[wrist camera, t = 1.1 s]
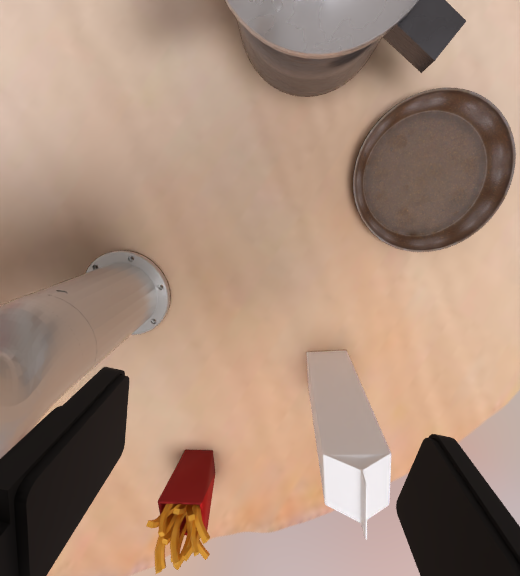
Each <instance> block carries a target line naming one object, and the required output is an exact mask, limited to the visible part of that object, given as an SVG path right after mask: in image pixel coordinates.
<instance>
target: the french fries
mask: <svg viewBox="0 0 520 576" xmlns="http://www.w3.org/2000/svg"><path fill="white" fill-rule="evenodd" d="M214 478H215V466H214V457H213V450H185V452H184V453H183V455H182V457H181V459H180V461H179V463H178V465H177V466H176V468H175V470H174V472H173V474H172V476H171V478H170V479H169V481H168V483H167V485H166V487H165V489H164V491H163V492H162V494H161V496H160V498H159V500H158V505H159V511H160V516H159V517H158V518H157V519H155V520H148V523H147V527H150V528H156V527H158V526H159V531H158V534H159V537H158V540H157V544H156V548H155V570H156V574H157V573H159V572H161V571H162V569H164V568H165V567H166V564H165V545H167V544H168V543H169V542H170V541H171V542H170V549H171V562H173V566H174V567H175V569H177V570H178V569H179V567H181V564H182V563H183V561H184V560H185V561H187V559H188V558H189V557H190V555H191V554H192V553H194V556H196V555H198V554H199V553H200V554H201V555H202V556H203V558H204V559H205V560H206V559H207V558H208V556H209V555H210V554H209V553H208V551H207V550H206V549H205V548H204V546H203V545H202V543H201V542H200V540H199V539H200V538H201V540H202V542H203V544H204V543H206V542H207V541H208V540H209V538H210V536H209V534H208V533H207V527H208V520H209V513H210V506H211V499H212V492H213V485H214ZM184 535H187V538H186V541H185V544H184V547H183V549H182V551H181V553H180V548H181V544H182V540H183V537H184Z"/></svg>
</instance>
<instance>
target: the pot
mask: <svg viewBox="0 0 520 576" xmlns="http://www.w3.org/2000/svg"><path fill="white" fill-rule="evenodd" d="M237 22H238V26H239V30H240V34H241V38H242V42H243V45H244V48H245V51H246V53H247V55H248V58H249V60H250V62H251V63H252V65H253V67H254V68H255V69H256V71H257V72H258V73H259V75H260V76H261V77H262V78H263V79H264V80H265V81H266V82H268V83H269V84H270V85H272V86H273V87H274V88H276V89H278V90H280V91H282V92H285V93H287V94H290V95H295V96H303V97H310V96H318V95H322V94H326V93H328V92H331V91H333V90H335V89H337V88H339V87H341V86H342V85H344V84H345V83H347V82H348V81H349V80H351V79H352V78H353V77H354V76H355V75H356V74H357V73H358V72H359V71H360V69H361V68H362V67H363V66H364V65H365V63H366V62H367V60H368V59H369V57H370V56H371V54H372V52H373V51H374V49H375V48H376V46H377V44H378V43H379V41H380V39H381V38H382V37H381V38H380V39H378V40H377V41H375V42H373V43H371V44H370V45H368V46H366V47H364V48H362V49H360V50H357V51H355V52H352V53H350V54H346V55H342V56H339V57H334V58H325V59H306V58H300V57H295V56H290V55H288V54H285V53H282V52H280V51H277V50H275V49H273V48H271V47H269V46H268V45H266V44H264V43H263V42H261V41H260V40H259V39H257V38H256V37H255V36H253V35H252V34H251V33H250V32H249V31H248V30H247V29H246V28H245V27H244V26H243V25H242V24H241V23H240V22H239V21H238V19H237ZM465 22H466V20H465V19H464V18H463V17H462V16H461V15H460V14H459V13H458V12H457V11H456V10H455V9H454V8H453V7H452V6H451V5H450V4H449V3H448V2H446V1H445V0H419V1H418V3H417V4H416V5H415V6H414V7H413V9H412V10H411V11H410V12H409V13H408V15H407V16H406V17H405V18H404V19H403V20H401V21H400V22H399V23H398V24H397V25H396V26H395V27H394V28H393V29H392V30H390V31H389V32H388V33H387V34H385V35H384V36H383V38H384V39H386V40H387V41H388V42H389V43H390V44H391V45H392V46H393V47H394V48H395V49H396V50H397V51H398V52H399V53H400V54H402V55H403V56H404V57H405V58H406V59H407V60H408V61H409V62H410V63H411V64H412V65H413V66H414V67H415V68H417V69H418V70H419V71H420V72H421V73H422V72H423V71H424V70H425V69H426V68H427V67H428V66H429V65H430V64H431V63H433V62H434V61H435V60H436V58H437V57H438V56H439V55H440V53H441V52H442V51H443V50H444V48H445V47H446V46H447V45H448V43H449V42H450V41H451V40H452V38H453V37H454V36H455V35H456V33H457V32H458V31H459V30H460V28H461V27H462V26H463V25H464V23H465Z"/></svg>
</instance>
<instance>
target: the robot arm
mask: <svg viewBox="0 0 520 576" xmlns="http://www.w3.org/2000/svg"><path fill="white" fill-rule="evenodd" d="M133 257H134V259H133ZM161 285H163V287H162V286H161ZM169 306H170V290H169V286H168V283H167V280H166V278H165V276H164V274H163V273H162V272H161V270H160V269H159V268H158V267H157V266H156V265H155V264H154V263H153V262H152V261H151V260H149V259H148V258H146V257H145V256H142V255H140V254H138V253H135V252H131V251H121V250H120V251H113V252H110V253H106V254H104V255H102V256H100V257H98V258H97V259H96V260H94V261H93V262H92V263H91V265H90V266H89V267H88V269H87V271H86V273H85V274H83V275H80V276H78V277H75V278H72V279H69V280H67V281H64V282H61V283H59V284H56V285H53V286H51V287H48V288H45V289H42V290H40V291H37V292H34V293H32V294H29V295H26V296H23V297H20V298H17V299H15V300H12V301H10V302H8V303H6V304H4V305H2V306H0V576H46V575H47V574H48V572H49V571H50V569H51V567H52V566H53V564H54V563H55V561H56V559H57V558H58V556H59V555H60V553H61V551H62V550H63V548H64V547H65V545H66V543H67V542H68V540H69V538H70V537H71V535H72V534H73V532H74V530H75V529H76V527H77V526H78V524H79V522H80V521H81V519H82V518H83V516H84V514H85V513H86V511H87V510H88V508H89V506H90V505H91V503H92V502H93V500H94V498H95V497H96V495H97V494H98V492H99V490H100V489H101V487H102V486H103V484H104V482H105V481H106V479H107V478H108V476H109V474H110V473H111V471H112V469H113V468H114V466H115V465H116V463H117V461H118V460H119V458H120V456H121V454H122V452H123V449H124V445H125V432H126V419H127V405H128V391H129V377H128V376H125V373H124V371H123V370H118V369H113V368H108V367H104V368H102V369H101V370H100V371H99V372H98V373H97V374H96V375H95V376H94V377H93V378H92V379H90V380H89V381H88V382H87V383H86V384H85V385H84V386H83V387H82V388H81V389H80V390H79V391H78V392H77V393H76V394H75V395H73V396H72V397H71V398H70V399H69V400H68V401H67V402H66V403H65V404H64V405H63V406H59V407H57V408H55V409H54V410H53V411H52V412H50V413H49V414H48V415H47V416H46V417H45V418H44V419H43V420H42V421H41V422H40V423H39V424H37V423H38V422H39V420H40V419H41V418H42V417H43V416H44V414H45V413H46V412H47V411H48V410H49V409H50V408H51V407H52V406H53V405H54V404H55V403H56V402H57V401H58V400H59V399H60V398H61V397H62V396H63V395H64V394H65V393H66V392H67V391H68V390H69V389H70V388H71V387H72V386H73V385H75V384H76V383H77V382H78V381H79V380H80V379H81V378H82V377H84V376H85V375H86V374H87V373H88V372H89V371H91V370H92V369H93V368H94V367H95V366H96V365H97V364H98V363H100V362H101V361H102V360H103V359H104V358H105V357H106V356H107V355H109V354H110V353H111V352H112V351H113V350H114V349H115V348H116V347H118V346H119V345H120V344H121V343H122V342H123V341H124V340H126V339H127V338H128V337H129V336H130V335H137V334H142V333H146V332H148V331H150V330H152V329H154V328H155V327H156V326H157V325H158V324H159V323H160V322H161V321H162V320H163V319H164V317H165V316H166V314H167V312H168V309H169ZM36 424H37V425H36ZM35 425H36V426H35ZM396 509H397V514H398V517H399V520H400V522H401V525H402V528H403V530H404V533H405V536H406V538H407V541H408V544H409V546H410V549H411V552H412V554H413V557H414V559H415V562H416V565H417V568H418V570H419V572H420V576H520V527H519V525H518V524H517V523H516V521H515V520H514V518H513V517H512V516H511V514H510V513H509V512H508V510H507V509H506V508H505V506H504V505H503V504H502V502H501V501H500V499H499V498H498V497H497V495H496V494H495V493H494V491H493V490H492V489H491V487H490V486H489V485H488V483H487V482H486V481H485V479H484V478H483V476H482V475H481V474H480V473H479V471H478V470H477V468H476V467H475V466H474V464H473V463H472V462H471V460H470V459H469V458H468V456H467V455H466V453H465V452H464V451H463V449H462V448H461V447H460V445H459V444H458V443H457V441H456V440H455V439H453V438H451V437H446V436H441V435H436V434H432V435H430V436H429V438H425V439H424V440H423V442H422V444H421V447H420V449H419V451H418V454H417V456H416V458H415V461H414V463H413V465H412V467H411V470H410V472H409V474H408V477H407V479H406V481H405V484H404V486H403V488H402V490H401V493H400V495H399V497H398V500H397V504H396Z"/></svg>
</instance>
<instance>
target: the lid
mask: <svg viewBox="0 0 520 576" xmlns="http://www.w3.org/2000/svg"><path fill="white" fill-rule="evenodd" d="M418 1H419V0H225V2H226V4H227V5H228V7H229V9H230V10H231V11H232V13H233V14H234V15H235V17H236V18H237V19H238V21H239V22H240V23H241V24H242V25H243V26H244V27H245V28H246V29H247V30H248V31H249V32H250V33H251V34H252V35H253V36H255V37H256V38H257V39H259V40H260V41H261V42H263V43H264V44H266V45H268V46H269V47H271V48H273V49H275V50H277V51H280V52H282V53H285V54H288V55H290V56H295V57H300V58H306V59H325V58H334V57H339V56H342V55H346V54H350V53H352V52H355V51H357V50H360V49H362V48H364V47H366V46H368V45H370V44H371V43H373V42H375V41H377V40H378V39H380V38H381V37H383V36H384V35H385V34H387V33H388V32H389V31H390V30H392V29H393V28H394V27H395V26H396V25H397V24H398V23H399V22H400V21H401V20H403V19H404V18H405V17H406V16H407V15H408V13H409V12H410V11H411V10H412V9H413V7H414V6H415V5H416V4H417V3H418Z"/></svg>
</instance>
